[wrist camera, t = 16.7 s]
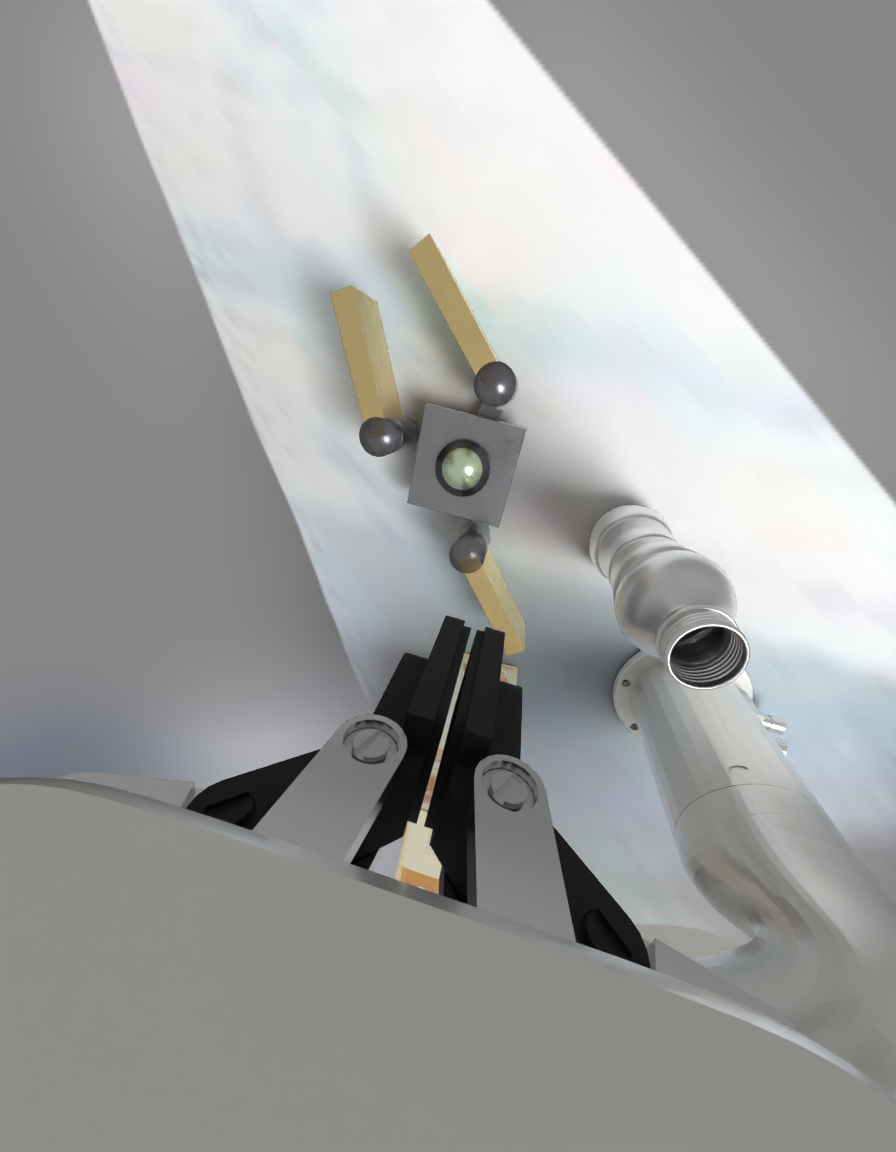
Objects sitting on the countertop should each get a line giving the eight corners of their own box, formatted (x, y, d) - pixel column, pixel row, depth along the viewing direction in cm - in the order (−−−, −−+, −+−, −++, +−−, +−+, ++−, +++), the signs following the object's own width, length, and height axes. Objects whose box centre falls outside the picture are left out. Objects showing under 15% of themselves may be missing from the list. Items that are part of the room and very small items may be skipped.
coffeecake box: (456, 648, 46) (408, 805, 28) (520, 666, 45) (514, 837, 27) (432, 749, 52) (380, 930, 34) (488, 766, 51) (466, 958, 33)
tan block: (423, 443, 38) (399, 452, 31) (394, 449, 39) (365, 459, 32) (394, 306, 34) (360, 283, 28) (362, 315, 35) (322, 295, 28)
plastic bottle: (577, 562, 40) (615, 699, 22) (597, 492, 37) (661, 579, 19) (647, 576, 39) (748, 729, 21) (673, 505, 36) (816, 610, 18)
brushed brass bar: (524, 393, 35) (523, 391, 28) (495, 412, 36) (487, 415, 29) (457, 263, 33) (437, 226, 26) (427, 287, 34) (401, 258, 27)
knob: (458, 523, 40) (443, 548, 34) (484, 511, 39) (474, 534, 33) (505, 617, 43) (500, 658, 36) (531, 608, 42) (531, 648, 36)
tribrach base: (530, 413, 36) (530, 415, 31) (499, 523, 40) (494, 540, 35) (428, 388, 36) (413, 386, 32) (408, 499, 40) (391, 512, 36)
